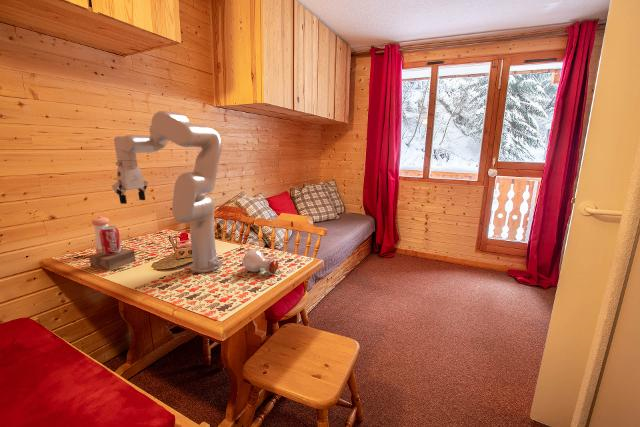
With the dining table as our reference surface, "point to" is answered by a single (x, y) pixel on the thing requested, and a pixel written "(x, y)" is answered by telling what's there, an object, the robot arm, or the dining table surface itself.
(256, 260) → the potion bottle
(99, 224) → the pepper shaker
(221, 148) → the robot arm
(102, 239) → the soda can
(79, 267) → the dining table surface
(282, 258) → the dining table surface
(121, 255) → the walnut block
